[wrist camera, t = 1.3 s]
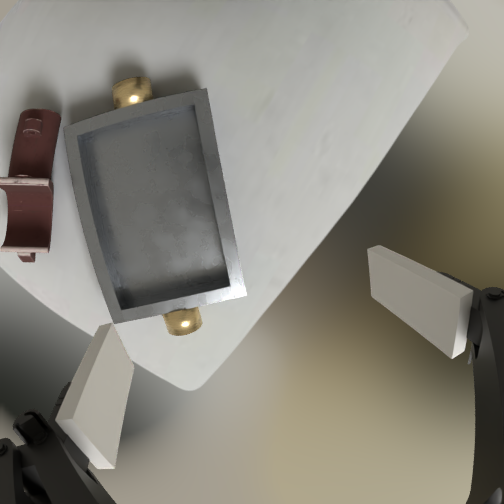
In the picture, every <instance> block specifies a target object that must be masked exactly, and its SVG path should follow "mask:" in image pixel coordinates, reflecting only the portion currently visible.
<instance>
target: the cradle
mask: <svg viewBox="0 0 504 504" xmlns="http://www.w3.org/2000/svg"><path fill="white" fill-rule="evenodd" d="M112 94H113V102H114V110H113V111H109V112H106V113H103V114H100V115H97V116H94V117H91V118H88V119H85V120H82V121H80V122H77V123H74V124H71V125H69V126H66V127H64V135H65V142H66V149H67V156H68V162H69V167H70V173H71V178H72V183H73V188H74V193H75V198H76V202H77V207H78V211H79V215H80V219H81V223H82V227H83V231H84V235H85V238H86V242H87V245H88V249H89V252H90V256H91V259H92V262H93V266H94V269H95V272H96V275H97V278H98V281H99V284H100V287H101V290H102V293H103V296H104V298H105V301H106V304H107V307H108V309H109V312H110V315H111V317H112V320H113V322H114V324H117V323H122V322H127V321H132V320H137V319H142V318H147V317H152V316H156V315H161V314H162V315H163V318H164V321H165V324H166V326H167V329H168V332H169V333H170V334H172V335H175V336H181V335H187V334H190V333H192V332H194V331H196V330H198V329H199V328H200V327H201V325H202V319H201V315H200V312H199V308H198V306H203V305H207V304H211V303H216V302H220V301H224V300H229V299H233V298H237V297H241V296H246V290H245V285H244V280H243V275H242V270H241V265H240V260H239V255H238V250H237V245H236V240H235V235H234V230H233V225H232V220H231V215H230V210H229V205H228V199H227V194H226V189H225V184H224V179H223V173H222V168H221V163H220V158H219V152H218V147H217V142H216V136H215V131H214V125H213V120H212V115H211V109H210V104H209V98H208V93H207V88H205V89H199V90H194V91H189V92H184V93H179V94H174V95H170V96H165V97H161V98H157V99H153V96H152V89H151V82H150V79H149V78H147V77H134V78H129V79H125V80H122V81H120V82H118V83H116V84H115V85H114V86H113V87H112Z"/></svg>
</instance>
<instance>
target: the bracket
mask: <svg viewBox="0 0 504 504" xmlns="http://www.w3.org/2000/svg"><path fill="white" fill-rule="evenodd" d="M60 123H61V116H60V115H59V114H58V113H56V112H53V111H51V110H46V109H28V110H25V111H23V112H22V113H21V115H20V118H19V122H18V126H17V131H16V135H15V140H14V145H13V150H12V155H11V161H10V167H9V174H8V177H0V188H1V189H3V190H4V191H5V192H6V194H7V200H8V221H7V231H6V237H5V241H4V243H3V245H2V246H1V252H17V253H18V257H19V258H20V259H21V260H22V262H35V254H36V252H39V253H49V249H50V242H51V230H52V214H53V182H52V181H51V174H52V167H53V160H54V154H55V148H56V142H57V137H58V132H59V127H60Z"/></svg>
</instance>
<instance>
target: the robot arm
mask: <svg viewBox="0 0 504 504" xmlns="http://www.w3.org/2000/svg"><path fill="white" fill-rule="evenodd" d="M367 250H368V260H369V271H370V284H371V296H372V297H373V298H374V299H376V300H377V301H378V302H380V303H381V304H382V305H383V306H385V307H386V308H387V309H389V310H390V311H391V312H393V313H394V314H395V315H397V316H398V317H399V318H400V319H402V320H403V321H405V322H406V323H407V324H408V325H410V326H411V327H412V328H413V329H415V330H416V331H417V332H418V333H420V334H421V335H422V336H424V337H425V338H426V339H427V340H429V341H430V342H431V343H433V344H434V345H435V346H436V347H438V348H439V349H440V350H441V351H442V352H444V353H445V354H446V355H447V356H449V357H450V358H451V359H453V358H454V357H456V356H457V355H459V354H460V353H462V352H463V351H464V349H465V345H466V340H467V338H468V339H469V340H470V341H472V347H471V352H470V356H469V361H468V364H470V363H471V360H472V362H473V373H474V388H475V451H474V465H473V475H472V484H471V491H470V495H469V498H468V500H467V502H466V504H504V290H503V289H500V288H497V287H489V288H485V289H483V290H482V291H481V290H479V289H477V288H475V287H473V286H471V285H469V284H467V283H465V282H463V281H462V282H461V280H459V279H457V278H454V277H453V276H451V275H449V274H446V273H442V272H437V271H433V270H431V269H429V268H427V267H425V266H423V265H421V264H419V263H417V262H415V261H413V260H411V259H408V258H406V257H404V256H402V255H400V254H398V253H396V252H393V251H391V250H389V249H387V248H385V247H382V246H380V245H378V246H375V247H372V248H369V249H367ZM133 371H134V365H133V363H132V361H131V359H130V357H129V356H128V354H127V352H126V350H125V348H124V346H123V343H122V341H121V339H120V337H119V335H118V333H117V331H116V329H115V327H114V324H113V323H109V324H105V325H101V326H99V328H98V330H97V332H96V333H95V335H94V337H93V339H92V341H91V343H90V345H89V347H88V349H87V352H86V353H85V355H84V357H83V359H82V361H81V364H80V365H79V368H78V370H77V372H76V374H75V376H74V378H73V380H72V382H69V383H68V384H67V385H66V386H65V387H64V388H63V390H62V391H61V393H60V395H59V397H58V398H59V399H58V400H57V402H56V404H55V405H56V406H55V407H54V408H53V411H52V413H51V415H50V418H49V420H48V422H47V421H46V420H45V419H44V418H43V416H42V415H41V414H40V412H39V411H38V410H35V409H30V410H27V411H25V412H23V413H22V414H21V415H19V416H18V417H17V418H16V420H15V422H14V424H13V430H14V431H15V432H16V434H17V435H18V436H19V437H20V438H21V440H22V441H23V442H24V443H25V444H24V445H21V446H17V447H16V446H15V444H14V443H13V442H12V441H11V440H10V439H8V438H3V439H0V504H116V503H115V501H114V500H113V499H112V498H111V496H110V495H109V494H108V493H107V491H106V490H105V489H104V488H103V486H102V485H101V484H100V482H99V481H98V480H97V478H96V477H95V476H94V474H93V473H92V472H91V471H90V470H89V469H88V463H89V460H90V461H91V462H92V463H93V465H95V466H96V468H98V469H113V468H115V464H116V457H117V451H118V445H119V440H120V434H121V428H122V423H123V418H124V413H125V408H126V403H127V398H128V393H129V389H130V384H131V380H132V376H133Z"/></svg>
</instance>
